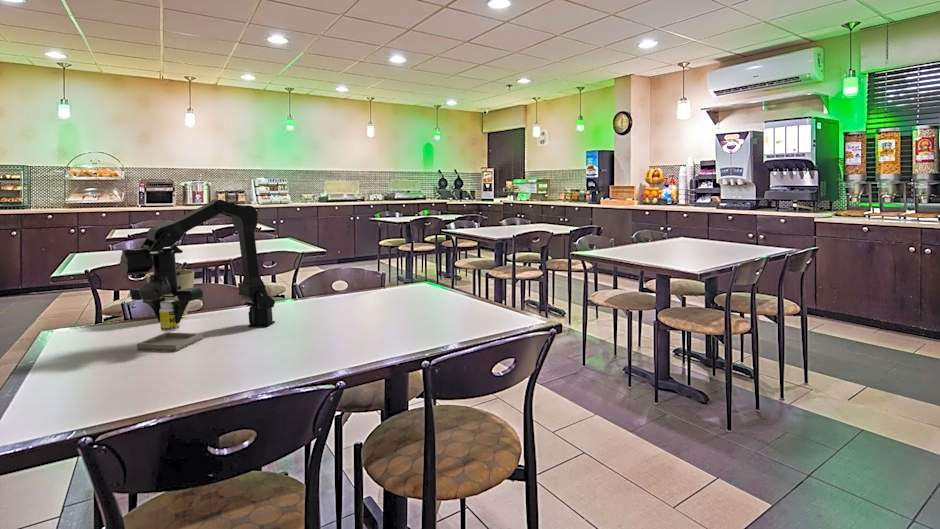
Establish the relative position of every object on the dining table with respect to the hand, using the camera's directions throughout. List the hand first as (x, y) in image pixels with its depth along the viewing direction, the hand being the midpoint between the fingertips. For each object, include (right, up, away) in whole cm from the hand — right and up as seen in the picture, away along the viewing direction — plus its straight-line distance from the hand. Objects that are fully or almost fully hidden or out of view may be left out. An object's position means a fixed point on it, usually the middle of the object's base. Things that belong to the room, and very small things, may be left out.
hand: (169, 322), depth 155 cm
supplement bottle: (0, -2, 0) cm, 2 cm away
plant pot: (-17, -2, +33) cm, 37 cm away
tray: (0, -6, +1) cm, 6 cm away
